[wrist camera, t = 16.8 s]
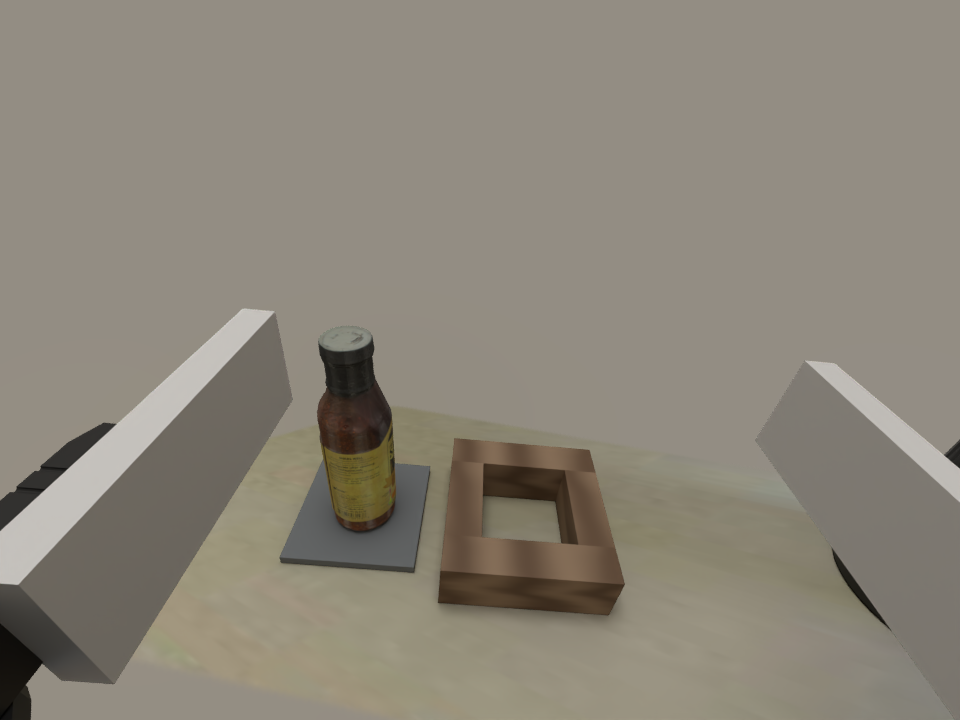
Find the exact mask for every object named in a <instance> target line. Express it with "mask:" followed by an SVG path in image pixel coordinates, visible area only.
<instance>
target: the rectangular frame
mask: <svg viewBox="0 0 960 720" xmlns="http://www.w3.org/2000/svg"><path fill="white" fill-rule="evenodd" d="M483 495H488V496H500V497H512V498H525V499H537V500H549V501H555V502H556V508H557V515H558V522H559V528H560V535H561V542H562V543H549V542H536V541H524V540H511V539H498V538H485V537H482V506H483ZM624 585H625V583H624V580H623V576H622V572H621V568H620V564H619V561H618V557H617V553H616V549H615V545H614V542H613V538H612V534H611V530H610V526H609V523H608V519H607V515H606V511H605V507H604V503H603V500H602V496H601V492H600V488H599V484H598V481H597V477H596V473H595V469H594V465H593V462H592V458H591V454H590V450H584V449H572V448H561V447H549V446H537V445H526V444H514V443H503V442H491V441H479V440H468V439H456V438H454V448H453V457H452V467H451V476H450V486H449V495H448V505H447V515H446V524H445V534H444V543H443V553H442V562H441V572H440V585H439V598H438V603H451V604H465V605H478V606H492V607H506V608H519V609H533V610H547V611H560V612H574V613H588V614H601V615H609V613H610V612H611V610H612V608H613V606H614V604H615V602H616V600H617V598H618V596H619V595H620V593H621V591H622V589H623V587H624Z"/></svg>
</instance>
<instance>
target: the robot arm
mask: <svg viewBox="0 0 960 720" xmlns="http://www.w3.org/2000/svg"><path fill="white" fill-rule="evenodd" d="M292 400H293V398H292V394H291V389H290V384H289V379H288V374H287V369H286V364H285V359H284V354H283V349H282V344H281V339H280V334H279V329H278V324H277V320H276V314H275V311H264V310H254V309H242V310H241V311H240V312H239V313H238V314H237V315H236V316H234V318H232V319H231V320H230V321H229V322H228V323H227V324H226V325H225V326H223V327H222V328H221V329H220V330H219V331H218V332H217V333H216V334H215V335H214V336H213V337H212V338H210V339H209V340H208V341H207V342H206V343H205V344H204V345H203V346H202V347H201V348H199V349H198V350H197V351H196V352H195V353H194V354H193V355H192V356H191V357H190V358H189V359H187V360H186V362H184V363H183V364H182V365H181V366H180V367H179V368H178V369H177V370H176V371H175V372H173V373H172V374H171V375H170V376H169V377H168V378H167V379H166V380H165V381H164V382H162V383H161V384H160V385H159V386H158V387H157V388H156V389H155V390H154V391H153V392H152V393H150V394H149V395H148V396H147V397H146V398H145V399H144V400H143V401H142V402H141V403H140V404H138V405H137V406H136V407H135V408H134V409H133V410H132V411H131V412H130V413H129V414H127V415H126V416H125V417H124V418H123V419H122V420H121V421H120V422H119V423H118V424H110V423H102V424H101V425H99V426H97V427H95V428H93V429H92V430H90V431H88V432H86V433H84V434H82V435H81V436H79V437H77V438H75V439H73V440H72V441H70V442H68V443H67V444H66V445H65V446H63V447H62V448H61V449H60V450H59V451H58V452H56V453H55V454H54V455H53V456H52V457H51V458H49V459H48V460H47V461H46V462H45V463H44V464H42V465H41V469H40V470H39V471H34V472H33V473H32V474H31V475H30V476H28V477H27V478H26V479H25V480H24V481H23V482H22V483H20V484H19V485H18V486H17V489H16V491H15V492H10V493H9V494H7V495H6V496H5V497H4V498H3V499H2V500H1V501H0V720H31V698H30V694H29V691H28V687H27V686H26V684H27V682H28V681H29V680H30V678H31V677H32V676H33V675H34V673H35V672H36V671H37V669H38V668H39V667H40V666H41V664H43V665H45V666H46V667H47V668H48V669H49V670H50V671H51V672H53V673H54V674H55V675H56V676H57V677H58V678H59V679H61V680H62V681H77V682H90V683H104V684H115V682H116V681H117V679H118V678H119V676H120V674H121V673H122V671H123V670H124V668H125V666H126V665H127V663H128V662H129V660H130V658H131V657H132V655H133V654H134V652H135V650H136V649H137V647H138V646H139V644H140V643H141V641H142V639H143V638H144V636H145V635H146V633H147V631H148V630H149V628H150V627H151V625H152V623H153V622H154V620H155V619H156V617H157V615H158V614H159V612H160V611H161V609H162V607H163V606H164V604H165V603H166V601H167V599H168V598H169V596H170V595H171V593H172V592H173V590H174V588H175V587H176V585H177V584H178V582H179V580H180V579H181V577H182V576H183V574H184V572H185V571H186V569H187V568H188V566H189V564H190V563H191V561H192V560H193V558H194V556H195V555H196V553H197V552H198V550H199V548H200V547H201V545H202V544H203V542H204V541H205V539H206V537H207V536H208V534H209V533H210V531H211V529H212V528H213V526H214V525H215V523H216V521H217V520H218V518H219V517H220V515H221V513H222V512H223V510H224V509H225V507H226V505H227V504H228V502H229V501H230V499H231V497H232V496H233V494H234V493H235V491H236V490H237V488H238V486H239V485H240V483H241V482H242V480H243V478H244V477H245V475H246V474H247V472H248V470H249V469H250V467H251V466H252V464H253V462H254V461H255V459H256V458H257V456H258V454H259V453H260V451H261V450H262V448H263V446H264V445H265V443H266V442H267V440H268V439H269V437H270V435H271V434H272V432H273V431H274V429H275V427H276V426H277V424H278V423H279V421H280V419H281V418H282V416H283V415H284V413H285V411H286V410H287V408H288V407H289V405H290V403H291V402H292ZM756 442H757V444H758V445H759V447H760V448H761V449H762V451H763V452H764V453H765V455H766V456H767V457H768V459H769V460H770V462H771V463H772V464H773V466H774V467H775V469H776V470H777V472H778V473H779V474H780V476H781V477H782V479H783V480H784V481H785V483H786V484H787V486H788V487H789V488H790V490H791V491H792V493H793V494H794V495H795V497H796V498H797V500H798V501H799V502H800V504H801V505H802V507H803V508H804V509H805V511H806V512H807V513H808V515H809V516H810V518H811V519H812V520H813V522H814V523H815V525H816V526H817V527H818V529H819V530H820V532H821V533H822V534H823V536H824V537H825V539H826V540H827V541H828V543H829V544H830V546H831V547H832V548H833V553H834V557H835V560H836V562H837V565H838V567H839V569H840V571H841V573H842V574H843V576H844V578H845V579H846V581H847V582H848V584H849V585H850V587H851V588H852V589H853V591H854V592H855V593H856V594H857V596H858V597H859V598H860V599H861V600H862V601H863V602H864V603H865V604H866V606H867V607H868V608H869V609H870V610H871V611H872V612H873V613H874V614H875V615H877V616H878V617H879V618H880V619H881V620H882V621H883V622H884V623H885V624H887V625H888V626H889V628H890V629H891V631H892V632H893V633H894V635H895V636H896V638H897V639H898V640H899V642H900V643H901V645H902V646H903V647H904V649H905V650H906V652H907V653H908V654H909V656H910V657H911V659H912V660H913V661H914V663H915V664H916V666H917V667H918V668H919V670H920V671H921V673H922V674H923V675H924V677H925V678H926V680H927V681H928V682H929V684H930V685H931V686H932V688H933V689H934V691H935V692H936V693H937V695H938V696H939V698H940V699H941V700H942V702H943V703H944V705H945V706H946V707H947V709H948V710H949V712H950V713H951V714H952V716H953V717H954V719H955V720H960V440H959V441H958V442H957V443H956V444H955V445H954V446H953V447H952V448H951V449H950V450H949V451H948V452H947V453H946V454H944V455H943V454H942V453H940V452H939V451H938V450H937V449H935V448H934V447H933V446H932V445H931V444H930V443H928V442H927V441H926V440H925V439H924V438H923V437H921V436H920V435H919V434H918V433H917V432H915V431H914V430H913V429H912V428H911V427H910V426H908V425H907V424H906V423H905V422H904V421H902V420H901V419H900V418H899V417H898V416H897V415H895V414H894V413H893V412H892V411H891V410H889V409H888V408H887V407H886V406H885V405H883V404H882V403H881V402H880V401H879V400H878V399H876V398H875V397H874V396H873V395H871V394H870V393H869V392H868V391H867V390H865V389H864V388H863V387H862V386H861V385H860V384H858V383H857V382H856V381H855V380H854V379H853V378H851V377H850V376H849V375H848V374H847V373H845V372H844V371H843V370H842V369H841V368H839V367H838V366H837V365H836V364H835V363H824V362H814V361H804V363H803V364H802V366H801V368H800V369H799V371H798V372H797V374H796V375H795V377H794V379H793V380H792V382H791V383H790V385H789V387H788V388H787V390H786V392H785V393H784V395H783V396H782V398H781V400H780V401H779V403H778V404H777V406H776V408H775V409H774V411H773V412H772V414H771V416H770V417H769V419H768V421H767V422H766V424H765V425H764V427H763V429H762V430H761V432H760V433H759V435H758V436H757V438H756Z"/></svg>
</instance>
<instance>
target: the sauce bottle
mask: <svg viewBox="0 0 960 720" xmlns="http://www.w3.org/2000/svg"><path fill="white" fill-rule="evenodd" d="M318 342H319V352H320V356H321V359H322V361H323V362H324V366H325V373H326V382H325V383H326V386H327V388H326V392H325V393H324V394H323V396H322V398H321V399H320V402H319V405H318V410H317V417H318V424H319V429H320V443H321V448H322V454H323V460H324V465H325V470H326V476H327V481H328V486H329V492H330V498H331V503H332V508H333V510H334V511H335V515H336V518H337V520H338V522H339V523H340V524H341V525H343V526H344V527H346V528H349V529H352V530H354V531H368V530H370V529H374V528H376V527H378V526H379V525H381V524H383V523H384V522H385V521H386V520H387V519H389V517H390V516H391V514H392V512H393V510H394V507H395V498H396V479H395V458H394V441H393V426H392V413H391V409H390V407H389V405H388V403H387V401H386V399H385V397H384V395H383V393H382V391H381V389H380V387H379V385H378V383H377V381H376V380H375V375H374V370H373V360H372V356H373V352H374V344H373V338H372V335H371V333H370V332H369V331H368V330H366V329H364V328H360V327H354V326H341V327H336V328H332V329H330V330H328V331H326V332H324V333H323V334H322V335H321V336H320V338H319V341H318Z"/></svg>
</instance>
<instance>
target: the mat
mask: <svg viewBox="0 0 960 720" xmlns="http://www.w3.org/2000/svg"><path fill="white" fill-rule="evenodd" d="M429 473H430V466H420V465H408V464H396V463H395V479H396V498H395V507H394V510H393V512H392V514H391V516H390V517H389V519H387V520H386V521H385V522H384V523H383V524H381V525H379V526H378V527H376V528H374V529H370V530H368V531H354V530H352V529H349V528H346V527H344V526H343V525H341V524H340V523H339V522H338V520H337V518H336V515H335V511H334V510H333V508H332V503H331V498H330V492H329V486H328V481H327V476H326V470H325V465H324V460H323V461H322V463H321V465H320V467H319V470H318V472H317V474H316V476H315V479H314V481H313V483H312V485H311V488H310V490H309V492H308V494H307V497H306V499H305V501H304V503H303V506H302V508H301V510H300V512H299V515H298V517H297V519H296V521H295V524H294V526H293V528H292V530H291V533H290V535H289V537H288V539H287V542H286V544H285V546H284V548H283V551H282V553H281V555H280V560H281V562H283V563H296V564H309V565H323V566H336V567H349V568H362V569H376V570H389V571H402V572H414V568H415V561H416V555H417V549H418V542H419V536H420V530H421V523H422V517H423V511H424V505H425V498H426V492H427V486H428V479H429Z"/></svg>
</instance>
